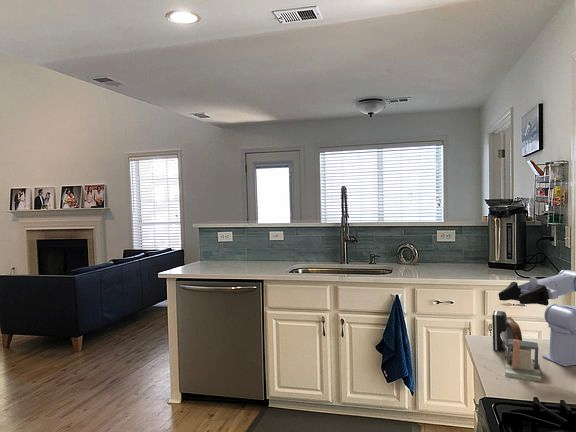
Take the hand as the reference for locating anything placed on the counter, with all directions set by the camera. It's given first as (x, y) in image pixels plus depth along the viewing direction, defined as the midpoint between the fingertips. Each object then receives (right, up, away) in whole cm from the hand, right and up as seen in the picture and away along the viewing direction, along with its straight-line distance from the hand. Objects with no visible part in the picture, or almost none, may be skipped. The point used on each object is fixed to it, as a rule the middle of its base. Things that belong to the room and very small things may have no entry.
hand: (509, 298), depth 125 cm
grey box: (+4, -19, +2) cm, 19 cm away
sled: (+4, -19, 0) cm, 19 cm away
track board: (+4, -20, 0) cm, 20 cm away
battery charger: (+5, -19, +16) cm, 25 cm away
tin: (+9, -19, +19) cm, 28 cm away
